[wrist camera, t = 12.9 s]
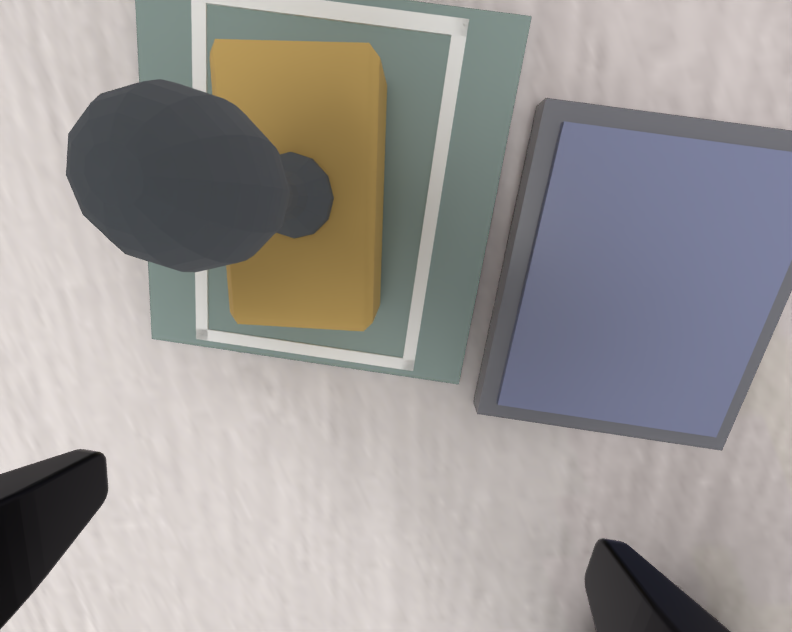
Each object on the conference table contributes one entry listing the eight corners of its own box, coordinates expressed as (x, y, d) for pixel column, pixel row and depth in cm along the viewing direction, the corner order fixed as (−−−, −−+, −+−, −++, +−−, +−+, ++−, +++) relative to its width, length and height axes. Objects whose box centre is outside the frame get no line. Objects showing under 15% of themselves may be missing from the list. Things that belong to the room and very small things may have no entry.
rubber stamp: (251, 74, 16) (-203, -296, 4) (388, 79, 16) (300, -304, 4) (263, 303, 18) (7, 455, 7) (380, 309, 18) (315, 479, 7)
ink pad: (824, 144, 16) (866, 137, 14) (703, 436, 19) (726, 454, 18) (536, 106, 16) (548, 95, 14) (473, 402, 20) (477, 416, 18)
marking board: (529, 19, 15) (532, 15, 15) (458, 381, 19) (458, 385, 19) (138, -31, 15) (131, -37, 15) (155, 336, 20) (150, 339, 19)
